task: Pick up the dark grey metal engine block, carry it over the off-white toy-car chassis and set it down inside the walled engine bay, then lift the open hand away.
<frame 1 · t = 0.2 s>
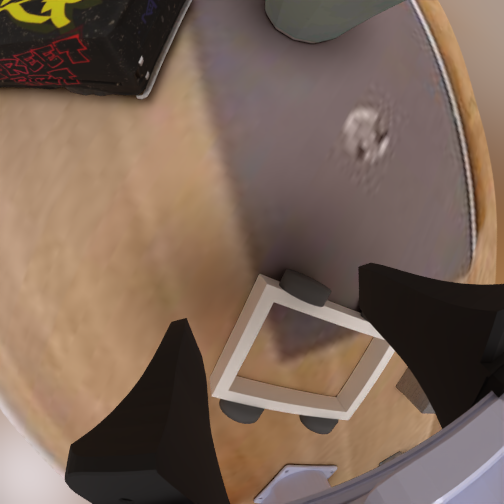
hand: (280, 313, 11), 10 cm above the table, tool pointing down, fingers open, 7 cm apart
toy van: (46, 41, 15), on the table
engine block: (419, 370, 28), on the table
chassis: (306, 352, 24), on the table
disposable coffee cup: (297, 14, 18), on the table
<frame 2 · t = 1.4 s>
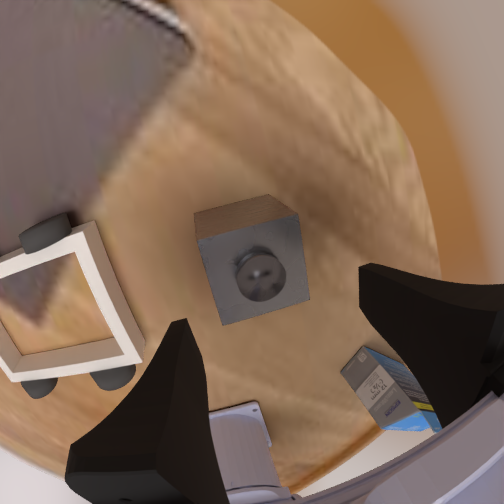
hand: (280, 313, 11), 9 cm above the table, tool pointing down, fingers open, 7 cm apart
label tape box: (374, 365, 28), on the table
engine block: (239, 238, 20), on the table
chassis: (45, 307, 18), on the table
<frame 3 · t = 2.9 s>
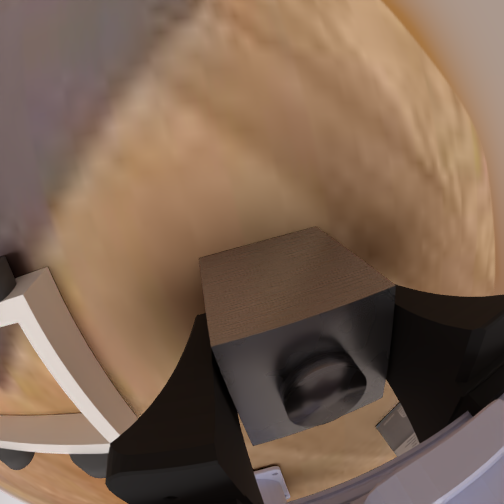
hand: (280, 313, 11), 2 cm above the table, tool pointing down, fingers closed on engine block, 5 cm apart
label tape box: (410, 412, 22), on the table
engine block: (269, 294, 13), on the table, touching gripper
chassis: (6, 371, 11), on the table
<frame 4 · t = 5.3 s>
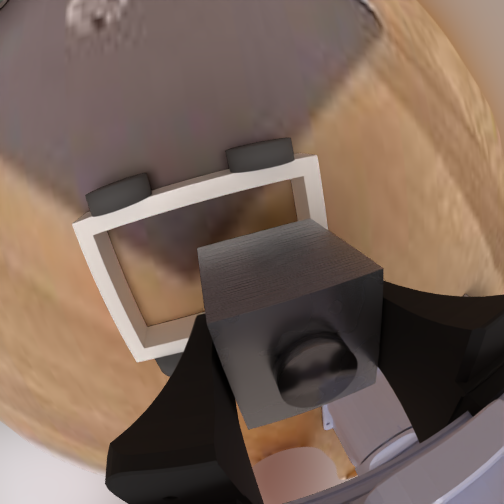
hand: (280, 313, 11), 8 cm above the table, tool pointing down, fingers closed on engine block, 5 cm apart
engine block: (265, 283, 13), point 6 cm above the table, touching gripper
chassis: (211, 254, 19), on the table
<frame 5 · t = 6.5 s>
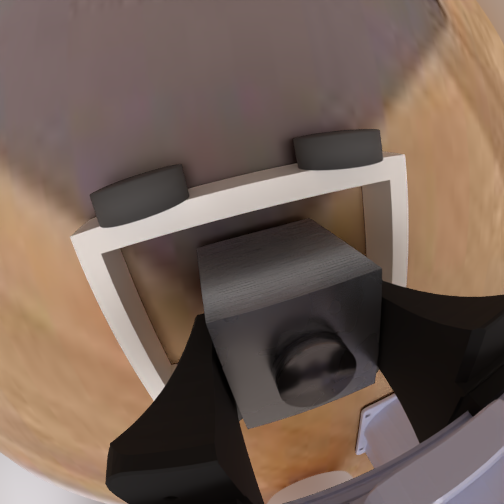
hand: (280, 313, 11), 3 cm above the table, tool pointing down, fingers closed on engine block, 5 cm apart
engine block: (265, 283, 13), point 1 cm above the table, touching gripper
chassis: (260, 276, 15), on the table
when the fingers open (3 cm above the table, at t = 7.4 s): engine block drops 1 cm, resting in chassis.
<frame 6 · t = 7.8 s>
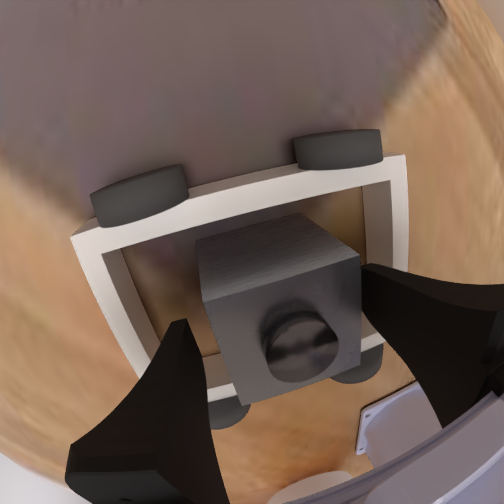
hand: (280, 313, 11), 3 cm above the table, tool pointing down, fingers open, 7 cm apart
engine block: (259, 273, 15), resting in chassis
chassis: (260, 276, 15), on the table
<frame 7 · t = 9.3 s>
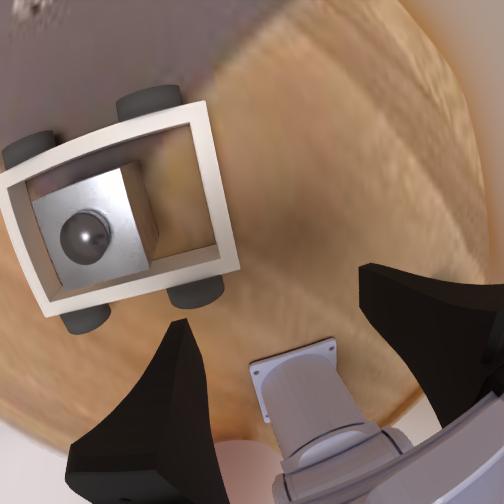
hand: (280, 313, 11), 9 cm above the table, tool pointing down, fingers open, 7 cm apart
engine block: (113, 208, 17), resting in chassis
chassis: (113, 210, 17), on the table
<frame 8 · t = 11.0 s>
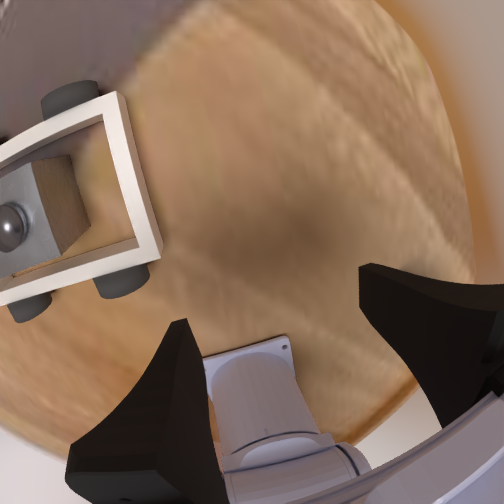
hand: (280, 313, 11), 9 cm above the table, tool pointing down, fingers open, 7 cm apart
engine block: (50, 202, 16), resting in chassis
chassis: (50, 204, 16), on the table
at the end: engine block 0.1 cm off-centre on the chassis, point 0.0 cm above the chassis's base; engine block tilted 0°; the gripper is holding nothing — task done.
